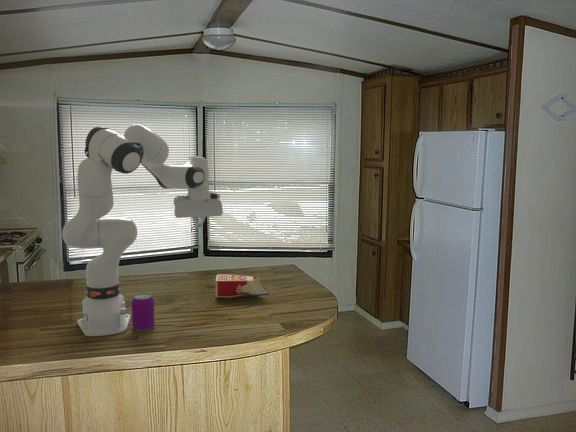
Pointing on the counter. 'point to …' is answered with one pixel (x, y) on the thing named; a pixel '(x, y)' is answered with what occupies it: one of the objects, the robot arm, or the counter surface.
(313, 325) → the counter surface
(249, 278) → the milk carton
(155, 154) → the robot arm
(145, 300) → the beverage can
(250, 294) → the mat
